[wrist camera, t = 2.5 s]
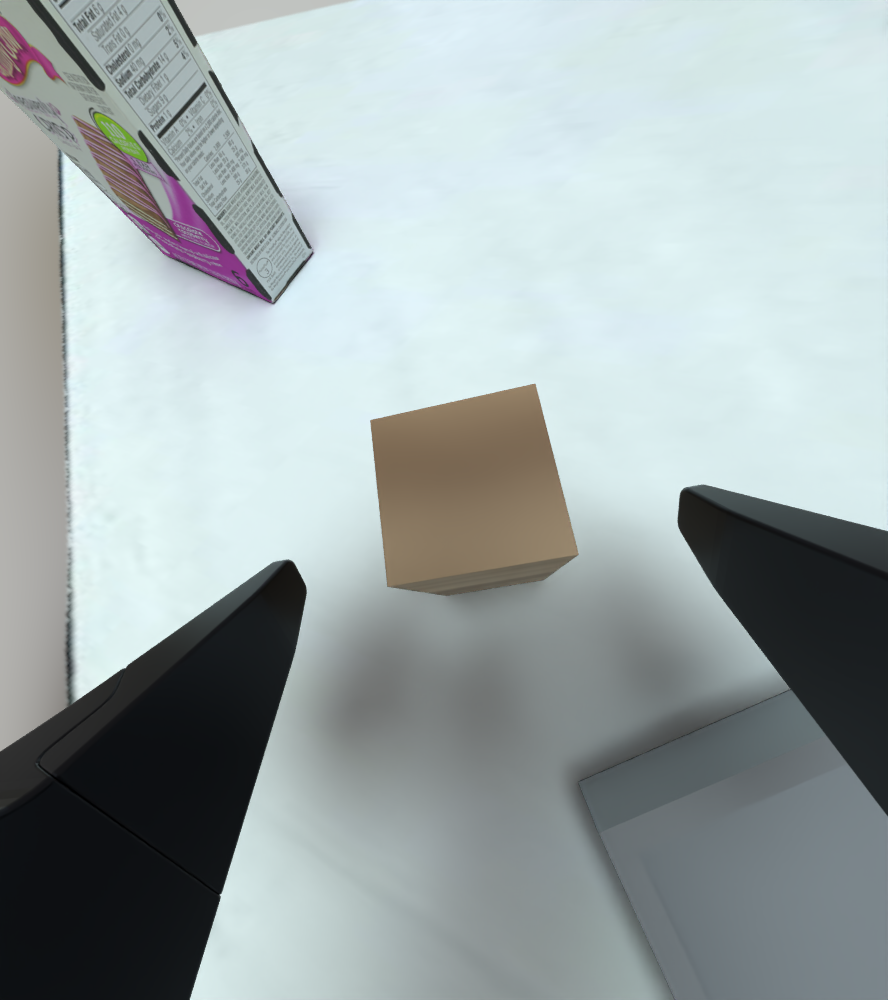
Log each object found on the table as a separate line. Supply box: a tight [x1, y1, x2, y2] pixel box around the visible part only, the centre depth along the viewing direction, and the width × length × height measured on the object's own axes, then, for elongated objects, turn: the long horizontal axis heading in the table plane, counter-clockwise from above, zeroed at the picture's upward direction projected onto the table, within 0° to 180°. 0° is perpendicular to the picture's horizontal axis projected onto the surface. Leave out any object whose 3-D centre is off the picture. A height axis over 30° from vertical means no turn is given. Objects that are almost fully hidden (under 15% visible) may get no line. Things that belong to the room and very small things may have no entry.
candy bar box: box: [0, 0, 313, 303], centre depth 18 cm, size 11×5×16 cm, turn 59°
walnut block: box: [370, 384, 579, 596], centre depth 14 cm, size 4×4×9 cm
